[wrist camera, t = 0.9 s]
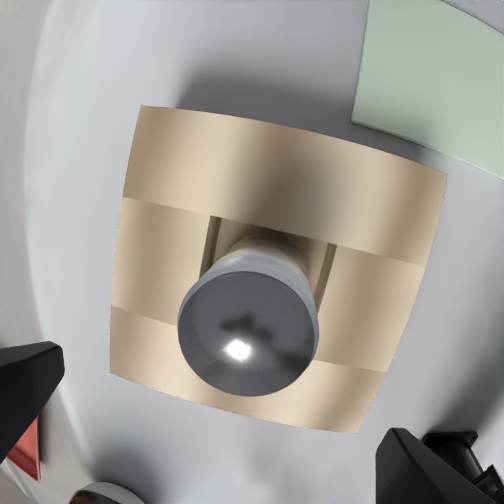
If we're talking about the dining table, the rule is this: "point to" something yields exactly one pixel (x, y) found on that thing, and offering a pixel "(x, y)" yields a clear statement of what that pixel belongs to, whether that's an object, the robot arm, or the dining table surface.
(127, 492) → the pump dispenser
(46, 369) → the robot arm
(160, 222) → the housing
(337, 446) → the dining table surface
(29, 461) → the plant saucer
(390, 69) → the mat
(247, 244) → the grey metallic cylinder
